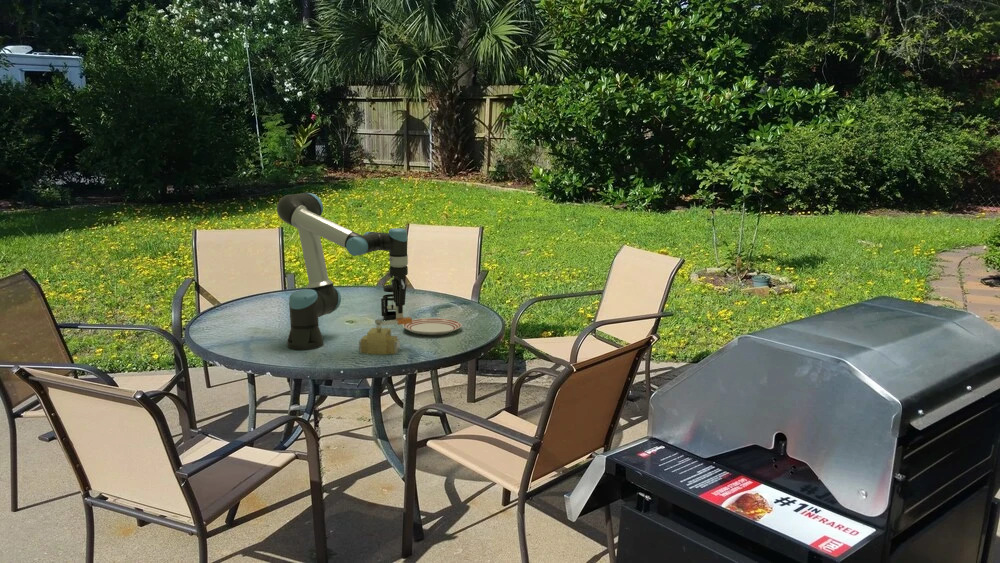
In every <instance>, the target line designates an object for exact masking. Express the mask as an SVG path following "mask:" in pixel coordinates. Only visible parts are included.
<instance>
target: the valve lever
mask: <svg viewBox="0 0 1000 563" xmlns="http://www.w3.org/2000/svg"><path fill="white" fill-rule="evenodd" d="M412 320H413V318H411V316H406V317H405V316H403V318H396V320H388V321H383V319H375V320H374V322H375V324H376V328H377V331H381V330H382V329H381V328H382V327H383V326H390V325H399V326H400V325H401V326H402V325H403V324H409V323H412Z"/></svg>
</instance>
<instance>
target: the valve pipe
mask: <svg viewBox="0 0 1000 563" xmlns="http://www.w3.org/2000/svg"><path fill="white" fill-rule="evenodd" d="M381 329H382V330H381V331H377V327H372V328H371V329H370V330H369V331H367V334H365V335H363V337H361V338H360V339H359V341H358V349H359V351H358V352H359V353H360V354H368V355H384V356H385V355H396V353H397V354H399V352H400V351H401V346H400V344H401V343H400V342H401V341H400V340H401V339H400V338H398V335H392V330H391V328H388V327H387V328H385V327H381ZM399 350H400V351H399Z"/></svg>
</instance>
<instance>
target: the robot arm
mask: <svg viewBox="0 0 1000 563" xmlns="http://www.w3.org/2000/svg"><path fill="white" fill-rule="evenodd" d="M276 212H277V215H278V217H279V219H281V221H283V222H284V223H287V224H288V225H290V226H292V227H294V228H296V229H297V231H298V235H299V239H300V244H301V250H302V254H303V260H304V264H305V265H304V266H305V269H306V273H307V278H308V284H307V286H306V288H304V289H301V290H299V289H298V290H296V291H294V292H291V294H290V295H289V297H288V299H289V301H288V306H289V322H290V324H289V325H290V330H289V334H288V336H287V337H288V338H287V341H286V345H287V348H288V349H291V350H297V351H301V350H302V351H303V350H304V351H306V350H313V349H317V348H321V347H322V346H324V338H323V335H322V331H321V329H320V327H319V317H320V318H321V317H323V316H325V315H329V314H333V313H334V312H335V311H337V309H338V308H339V307H340V305H341V302H342V296H341V292H340V290H339V289H337V287H335V286H334V282H333V281H332V280H330V279H329V276H328V270H327V264H326V260H325V255H324V249H323V245H322V240H321V237H322V238H323V239H326V240H327V241H330V242H332V243H333V244H336V245H338V246H340V247H341V248H342V247H343V248H344V249H346V251H347V252H348V254H350V255H351V256H359V257H360V256H362V255H363V256H364V255H365V254H368V253H374V252H377V251H386V252H388V254H389V258H387V259H388V261H389V265H390V266H389V274H390V275H392V276H393V278H392V280H391V279H390V280H391V281H392V287H393V292H392V294H393V298H394V301H393V302H394V305H396V310H395V311H396V318H404V306H405V305H406V293H407V286H408V285H407V284H406V281H405V276H407V275H408V274H409V272H408V271H409V270H408V268H409V267H408V266H407V265H409V264H408V263H409V262H408V261H409V259H408V256H409V255H408V240H409V238H408V234H407V233H408V231H407V230H406V229H405V228H401V227H400V228H397V227H396V228H394V227H393V228H390V229H389V230H388V232H379V231H366V232H364V234H360V233H357V232H355V231H353V230H351V229H349V228H347V227H345V226H342V225H340V224H338V223H336V222H333V221H332V220H330V219H327V218H325V217H323V216H322V213H323V212H324V205H323V202H322V200H321V199H320V197H319V196H318V195H316V194H315V193H311V192H302V193H295V194H286V195H284V196H283V197H281V198H280V199H279V200H278V202H277V205H276ZM391 281H390V282H391Z"/></svg>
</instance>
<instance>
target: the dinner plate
mask: <svg viewBox="0 0 1000 563" xmlns="http://www.w3.org/2000/svg"><path fill="white" fill-rule="evenodd" d="M462 326H463V324H462V323H461V322H459V320H458V321H457V320H454V319H450V318H443V317H441V318H439V317H425V318H424V317H422V318H415V319H412V323H409V324H402V327H403V328H404V329H405V330H407V331H409V332H411V333H413V334H416V333H417V335H420V334H422V336H441V334H443V335H446V333H447V334H450V333H451V332H454V331H457V330H458V329H461V327H462ZM449 332H450V333H449Z"/></svg>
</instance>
